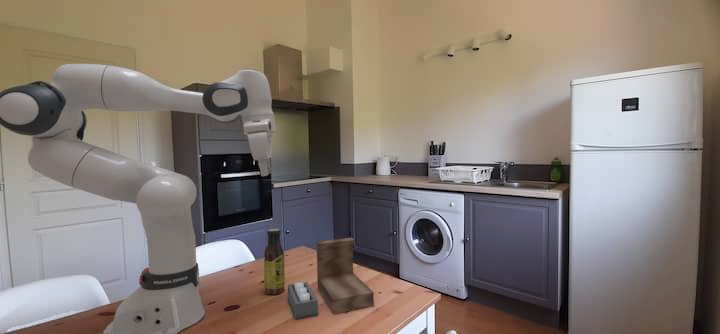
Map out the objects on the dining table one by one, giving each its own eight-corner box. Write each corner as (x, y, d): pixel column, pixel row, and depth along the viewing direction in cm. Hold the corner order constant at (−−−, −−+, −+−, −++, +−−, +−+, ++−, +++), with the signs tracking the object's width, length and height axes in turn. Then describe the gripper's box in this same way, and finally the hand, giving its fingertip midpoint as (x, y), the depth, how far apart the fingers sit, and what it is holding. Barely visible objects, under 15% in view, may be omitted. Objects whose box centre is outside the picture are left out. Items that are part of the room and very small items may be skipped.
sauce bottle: (279, 296, 101) (277, 232, 100) (261, 294, 102) (259, 232, 101) (288, 287, 107) (286, 227, 106) (270, 286, 108) (269, 227, 107)
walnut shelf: (333, 314, 89) (332, 258, 88) (317, 289, 105) (316, 241, 105) (373, 306, 93) (372, 252, 92) (352, 283, 110) (351, 237, 109)
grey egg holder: (295, 321, 86) (295, 300, 86) (288, 299, 99) (287, 281, 99) (318, 316, 88) (317, 297, 88) (307, 295, 101) (307, 278, 101)
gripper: (253, 130, 103) (259, 173, 104) (242, 125, 83) (250, 179, 84) (273, 128, 104) (279, 171, 105) (267, 123, 84) (275, 175, 85)
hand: (266, 174), depth 94 cm, fingers open, 8 cm apart
